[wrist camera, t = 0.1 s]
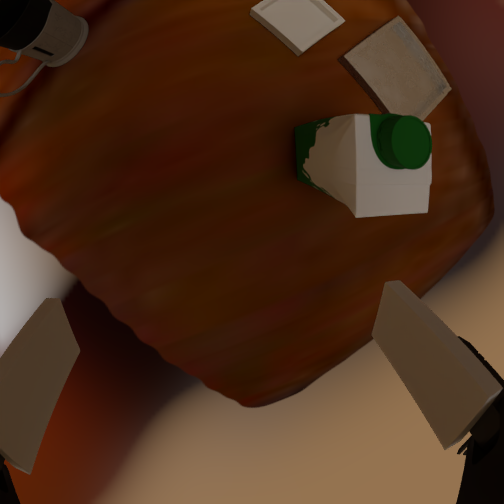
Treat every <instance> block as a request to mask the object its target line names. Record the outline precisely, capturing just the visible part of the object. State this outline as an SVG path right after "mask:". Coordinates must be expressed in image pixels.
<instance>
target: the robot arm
mask: <svg viewBox="0 0 504 504" xmlns="http://www.w3.org/2000/svg"><path fill="white" fill-rule="evenodd" d="M372 337H373V338H374V340H375V341H376V342H377V344H378V345H379V347H380V348H381V350H382V351H383V352H384V354H385V356H386V357H387V359H388V360H389V362H390V363H391V365H392V366H393V368H394V369H395V371H396V372H397V374H398V375H399V376H400V378H401V380H402V381H403V383H404V384H405V386H406V387H407V389H408V391H409V392H410V393H411V395H412V397H413V398H414V400H415V402H416V403H417V405H418V406H419V408H420V410H421V411H422V413H423V414H424V416H425V418H426V419H427V421H428V423H429V424H430V426H431V428H432V429H433V431H434V433H435V434H436V436H437V438H438V439H439V441H440V443H441V444H442V446H443V448H444V450H446V449H447V448H449V447H451V446H453V445H455V444H456V443H458V442H459V441H461V440H462V439H463V437H464V436H465V435H466V434H467V433H468V432H469V431H470V433H471V434H472V436H471V437H470V438H469V439H468V440H467V441H466V442H465V443H464V444H463V445H462V446H461V447H460V448H459V450H458V453H457V454H460V453H461V452H462V451H463V450H464V449H465V448H466V447H467V450H466V451H465V452H464V453H463V455H466V460H465V466H464V471H463V476H462V481H461V486H460V490H459V494H458V498H457V502H456V504H504V380H503V379H502V378H501V377H500V376H499V374H498V373H497V372H496V371H495V370H494V369H493V368H492V366H491V365H490V364H489V363H488V362H487V361H486V360H484V357H483V356H482V355H481V354H478V351H477V350H476V349H475V348H474V347H473V346H472V345H471V343H469V342H468V341H466V340H464V339H463V338H461V337H460V336H458V337H457V336H456V335H455V334H454V333H453V332H452V331H451V330H450V329H449V328H448V326H446V325H445V324H444V322H443V321H441V319H440V318H439V317H438V316H437V315H435V314H434V313H433V312H432V310H430V309H429V308H428V307H427V306H426V305H425V304H424V303H423V302H422V301H421V300H420V299H419V298H418V297H417V296H416V295H415V294H414V293H413V292H412V291H411V290H410V289H408V288H407V287H406V286H405V285H404V284H403V283H402V282H401V281H400V280H398V281H390V282H385V285H384V289H383V293H382V298H381V302H380V306H379V310H378V313H377V317H376V321H375V325H374V328H373V332H372ZM79 352H80V349H79V347H78V345H77V342H76V340H75V338H74V335H73V333H72V330H71V328H70V325H69V323H68V320H67V317H66V315H65V312H64V309H63V306H62V304H61V301H60V299H59V298H46V299H45V300H44V301H43V303H42V304H41V305H40V306H39V307H38V309H37V310H36V311H35V312H34V314H33V315H32V316H31V317H30V319H29V320H28V321H27V322H26V324H25V325H24V326H23V328H22V329H21V330H20V332H19V333H18V334H17V336H16V337H15V338H14V340H13V341H12V343H11V344H10V345H9V347H8V348H7V349H6V351H5V352H4V354H3V355H2V357H1V358H0V504H20V501H19V499H18V496H17V494H16V492H15V488H14V485H13V483H12V479H11V476H10V473H9V470H8V468H7V466H6V465H5V464H4V460H5V459H6V460H7V461H8V462H9V463H10V464H11V465H13V466H14V467H15V468H17V469H19V470H21V471H23V472H26V473H28V474H31V471H32V468H33V465H34V462H35V458H36V455H37V452H38V449H39V446H40V444H41V441H42V438H43V435H44V432H45V430H46V427H47V424H48V422H49V419H50V417H51V414H52V412H53V409H54V407H55V404H56V402H57V400H58V397H59V395H60V393H61V390H62V388H63V386H64V384H65V381H66V379H67V377H68V375H69V373H70V371H71V369H72V366H73V364H74V362H75V360H76V358H77V356H78V354H79Z"/></svg>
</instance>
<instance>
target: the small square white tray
mask: <svg viewBox="0 0 504 504" xmlns="http://www.w3.org/2000/svg"><path fill="white" fill-rule="evenodd" d="M250 15H251V16H252V17H253V18H254V19H256V20H257V21H258V22H259V23H261V24H262V25H263V26H264V27H266V28H267V29H268V30H269V31H270V32H272V33H273V34H274V35H275V36H276V37H277V38H279V39H280V40H281V41H282V42H283V43H284V44H285V45H286V46H288V47H289V48H290V49H291V50H292V51H293V52H294V53H295V54H296V55H297V56H299V55H301V54H302V53H303V52H304V51H306V50H307V49H308V48H310V47H311V46H312V45H314V44H315V43H316V42H318V41H319V40H320V39H322V38H323V37H324V36H326V35H327V34H328V33H330V32H331V31H333V30H334V29H336V28H337V27H338V26H340V25H341V24H342V23H344V22H345V20H344V19H343V18H342V17H341V16H340V15H339V14H338V13H337V12H336V11H334V10H333V9H332V8H331V7H330V6H329V5H328V4H327V3H326V2H325V1H323V0H263V1H262V2H260V3H259V4H257V5H256V6H254V7H253V8H251V11H250Z"/></svg>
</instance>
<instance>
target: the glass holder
mask: <svg viewBox="0 0 504 504" xmlns="http://www.w3.org/2000/svg"><path fill="white" fill-rule="evenodd" d="M87 35H88V24H87V22H86V20H85V19H83V18H82V17H79V16H74V15H73V14H72V13H70V12H69V11H68V10H66V9H65V8H64V7H62V6H61V5H60V4H58V3H57V2H56V1H54V0H0V46H2V47H5V48H9V50H11V51H14V52H17V55H16V58H15V60H14V61H13V60H3V61H0V65H2V64H4V63H8V64H13V63H16V62H17V61H18V60H19V58H20V56H21V54H23V55H26V56H29V57H32V58H35V59H38V60H41V61H42V62H43V63H42V64H41V65H40V66H39V67H38V69H37V70H36V71H35V72H34V73H33V75H32V76H31V77H30V78H29V79H28V80H27V81H26V83H25V84H24V85H23V86H21V87H20V88H18V89H17V90H15V91H13V92H10V93H4V94H1V93H0V97H6V96H10V95H14V94H16V93H18V92H20V91H21V90H23V89H24V88H26V87H27V86H28V85H29V83H30V82H31V81H32V80H33V79H34V78H35V77H36V75H37V74H38V73H39V72H40V70H41V69H42V68H43V67H44V66H45V65H47V66H49V67H57V66H60V65H63V64H65V63H67V62H68V61H70V60H71V59H72V58H73V57H74V56H75V55H76V54H77V53H78V52H79V51H80V49H81V48H82V47H83V45H84V43H85V41H86V39H87Z"/></svg>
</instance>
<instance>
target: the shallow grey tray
mask: <svg viewBox="0 0 504 504" xmlns="http://www.w3.org/2000/svg"><path fill="white" fill-rule="evenodd" d="M338 61H339V62H340V63H341V64H342V65H343V66H344V67H345V68H346V69H347V70H348V72H349V73H350V74H351V75H352V76H353V77H354V78H355V80H356V81H357V82H358V83H359V84H360V85H361V87H362V88H363V89H364V90H365V91H366V93H367V94H368V95H369V96H370V98H371V99H372V100H373V102H374V103H375V104H376V105H377V107H378V108H379V109H380V111H381V112H382V113H383V114H386V113H393V114H399V115H412V116H415V117H418V118H419V119H420V120H422V121H423V120H424V119H425V118H426V117H427V116H428V114H429V113H430V112H431V111H432V110H433V109H434V108H435V107H436V106H437V105H438V103H439V102H440V101H441V100H442V99H443V98H444V97H445V96H446V95H447V93H448V92H449V91H450V90H451V87H450V85H449V84H448V82H447V80H446V79H445V77H444V76H443V74H442V72H441V71H440V69H439V68H438V66H437V65H436V63H435V62H434V60H433V59H432V57H431V56H430V55H429V53H428V52H427V50H426V49H425V48H424V46H423V45H422V44H421V42H420V41H419V40H418V38H417V37H416V36H415V34H414V33H413V32H412V31H411V29H410V28H409V27H408V26H407V25H406V23H405V22H404V21H403V20H402V19H401V17H400V16H397V17H395V18H394V19H392V20H390V21H389V22H387V23H386V24H385V25H383V26H382V27H380V28H379V29H377V30H376V31H375V32H373V33H372V34H371V35H369V36H368V37H366V38H365V39H364V40H362V41H361V42H360V43H358V44H357V45H356V46H354V47H353V48H352V49H351V50H349V51H348V52H347V53H345V54H344V55H343V56H342V57H340V58H339V59H338Z"/></svg>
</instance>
